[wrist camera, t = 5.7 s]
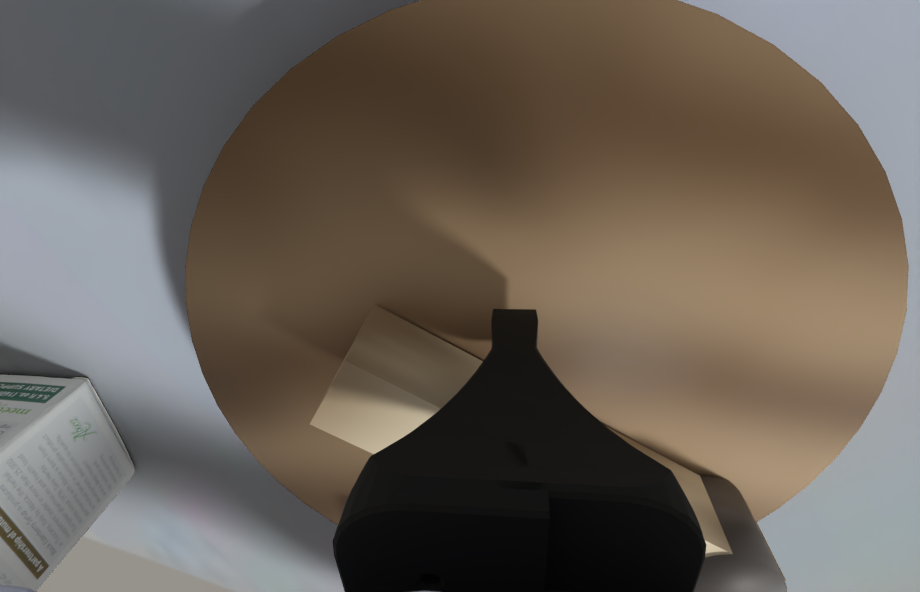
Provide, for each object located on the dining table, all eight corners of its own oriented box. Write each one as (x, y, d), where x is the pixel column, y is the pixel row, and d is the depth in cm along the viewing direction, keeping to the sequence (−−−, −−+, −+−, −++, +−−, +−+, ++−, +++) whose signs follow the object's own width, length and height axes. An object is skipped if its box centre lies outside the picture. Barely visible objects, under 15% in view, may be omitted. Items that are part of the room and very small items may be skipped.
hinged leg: (764, 500, 15) (812, 590, 13) (697, 545, 17) (728, 633, 14) (378, 296, 13) (347, 357, 10) (338, 368, 14) (302, 437, 12)
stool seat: (751, 537, 20) (808, 658, 16) (299, 510, 22) (253, 610, 18) (984, -40, 10) (1270, -86, 6) (136, 16, 12) (-34, 7, 8)
